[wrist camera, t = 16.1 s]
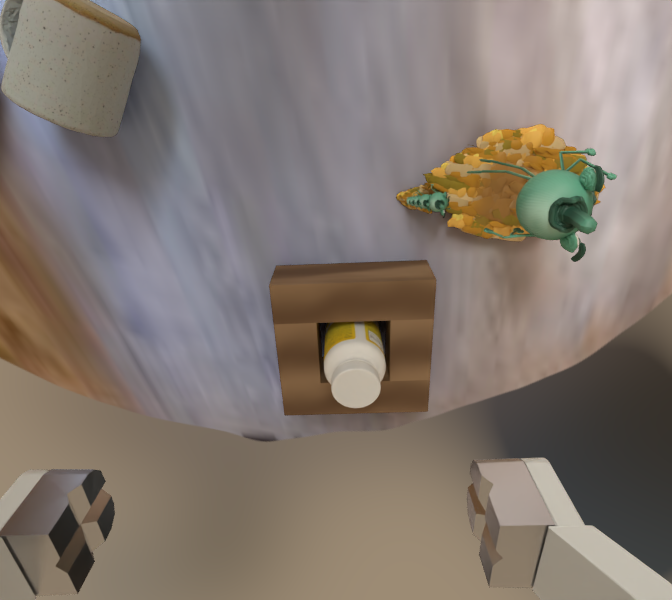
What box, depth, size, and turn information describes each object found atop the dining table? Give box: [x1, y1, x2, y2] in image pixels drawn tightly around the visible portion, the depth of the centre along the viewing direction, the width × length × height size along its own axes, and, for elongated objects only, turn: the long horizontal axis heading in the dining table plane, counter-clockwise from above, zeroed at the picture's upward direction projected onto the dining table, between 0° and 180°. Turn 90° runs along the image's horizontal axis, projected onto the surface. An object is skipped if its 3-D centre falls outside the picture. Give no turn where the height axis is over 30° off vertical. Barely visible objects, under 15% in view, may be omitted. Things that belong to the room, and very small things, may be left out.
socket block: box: [269, 260, 436, 415], centre depth 42 cm, size 14×14×4 cm
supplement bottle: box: [324, 321, 386, 408], centre depth 39 cm, size 5×5×10 cm
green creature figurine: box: [396, 124, 617, 262], centre depth 32 cm, size 10×18×15 cm, turn 83°
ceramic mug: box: [0, 0, 141, 137], centre depth 30 cm, size 10×8×7 cm
